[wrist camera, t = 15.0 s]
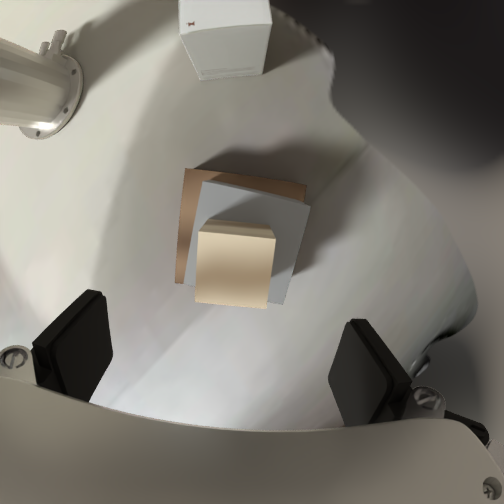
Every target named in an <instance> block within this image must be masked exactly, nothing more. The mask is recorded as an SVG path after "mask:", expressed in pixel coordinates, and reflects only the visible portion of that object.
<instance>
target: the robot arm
mask: <svg viewBox="0 0 504 504" xmlns="http://www.w3.org/2000/svg"><path fill="white" fill-rule="evenodd" d="M66 34H67V31H65V30H57V31H55V34H54V36H53V39H52V42H51V43H52V44H51V47H50V49H49V50H48V48H49V45H50V43H49V42H43V43H42V44H41V47H40V50H39V51H40V52H39V54H37V53H35V52H33V51H31V50H28V49H26V48H24V47H21V46H19V45H17V44H14V43H12V42H10V41H7V40H5V39H2V38H0V125H9V126H19V128H20V130H21V132H22V133H23V134H24V135H25V136H26V137H28V138H30V139H45V138H48V137H50V136H52V135H54V134H55V133H57V132H58V131H59V130H60V129H61V128H62V127H63V126H64V125H65V124H66V123H67V121H68V120H69V119H70V117H71V116H72V114H73V112H74V111H75V109H76V107H77V104H78V102H79V100H80V96H81V93H82V87H83V73H82V69H81V67H80V65H79V63H78V62H77V61H76V60H75V59H73V58H72V57H70V56H67V55H62V50H61V47H62V44H63V43H64V40H65V37H66ZM32 345H33V348H32V349H31V350H29V349H28V348H26V347H24V346H20V345H13V346H9V347H7V348H5V349H3V350H2V351H1V352H0V504H504V445H502V444H500V443H499V442H497V441H496V440H494V439H492V440H491V441H489V434H488V431H487V430H486V428H485V427H484V425H482V424H481V423H478V422H476V421H473V420H470V419H468V418H465V417H462V416H460V415H457V414H454V413H452V412H449V411H447V410H445V400H444V398H443V396H442V395H441V394H440V393H439V392H438V391H437V390H435V389H433V388H430V387H427V386H419V387H416V388H414V389H412V388H411V387H410V385H411V383H412V380H411V378H410V377H409V376H408V374H407V373H406V372H405V370H404V369H403V367H402V366H401V365H400V363H399V362H398V361H397V359H396V358H395V357H394V355H393V354H392V353H391V351H390V350H389V348H388V347H387V346H386V345H385V343H384V342H383V341H382V339H381V338H380V337H379V335H378V334H377V333H376V331H375V330H374V329H373V327H372V326H371V325H370V324H369V322H368V321H367V320H366V319H351V320H350V322H347V323H346V325H345V328H344V331H343V334H342V337H341V340H340V343H339V346H338V349H337V352H336V355H335V358H334V361H333V364H332V366H331V369H330V372H329V375H328V382H329V385H330V387H331V390H332V392H333V395H334V398H335V400H336V403H337V405H338V408H339V411H340V413H341V416H342V418H343V421H344V424H345V426H346V427H341V428H329V429H313V430H248V429H231V428H219V427H209V426H200V425H192V424H185V423H178V422H172V421H166V420H160V419H154V418H149V417H144V416H140V415H135V414H131V413H126V412H122V411H118V410H114V409H110V408H107V407H103V406H99V405H96V404H93V403H89V400H90V398H91V396H92V395H93V393H94V391H95V389H96V387H97V385H98V384H99V382H100V380H101V378H102V376H103V375H104V373H105V371H106V369H107V368H108V366H109V364H110V362H111V360H112V357H113V350H112V343H111V336H110V329H109V321H108V312H107V301H106V297H105V296H103V294H102V292H101V291H95V290H90V289H87V290H86V291H85V292H84V293H83V294H81V295H80V296H79V297H78V298H77V299H76V300H75V301H74V302H73V303H72V304H71V305H70V306H69V307H68V308H67V309H65V310H64V311H63V312H62V313H61V314H60V315H59V316H58V317H57V318H56V319H55V320H54V321H53V322H52V323H51V324H50V325H49V326H48V327H47V328H46V329H45V330H44V331H43V332H42V333H41V334H40V335H39V336H38V337H37V338H36V339H35V340H34V341H33V342H32Z"/></svg>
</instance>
